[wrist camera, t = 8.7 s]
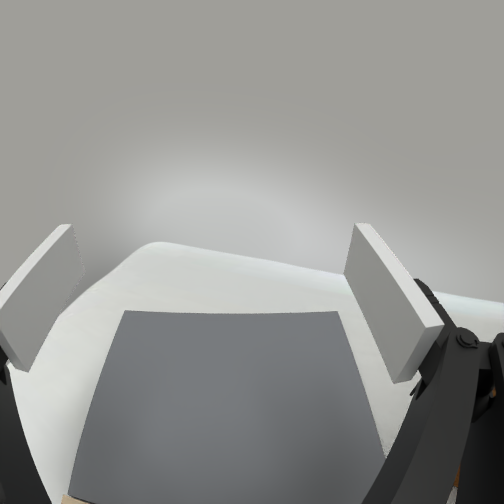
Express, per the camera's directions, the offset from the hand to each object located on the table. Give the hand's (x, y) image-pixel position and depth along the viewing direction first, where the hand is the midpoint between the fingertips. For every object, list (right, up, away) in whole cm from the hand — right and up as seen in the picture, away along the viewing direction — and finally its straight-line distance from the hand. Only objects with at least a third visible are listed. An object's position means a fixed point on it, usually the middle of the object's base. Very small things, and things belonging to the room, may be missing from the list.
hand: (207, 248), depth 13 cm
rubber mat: (0, -12, +8) cm, 14 cm away
